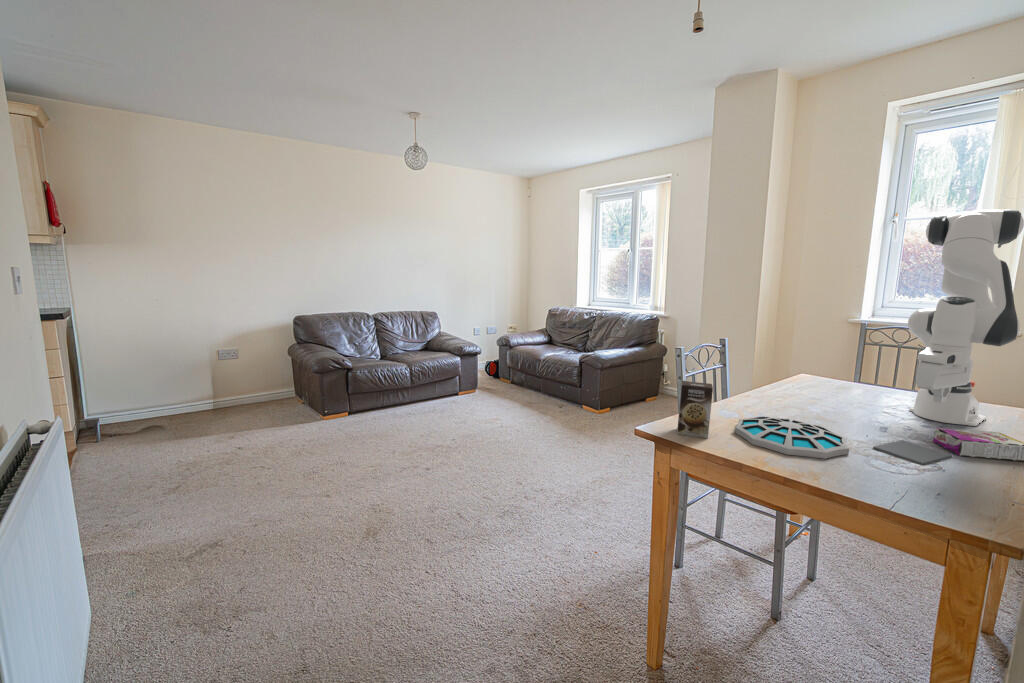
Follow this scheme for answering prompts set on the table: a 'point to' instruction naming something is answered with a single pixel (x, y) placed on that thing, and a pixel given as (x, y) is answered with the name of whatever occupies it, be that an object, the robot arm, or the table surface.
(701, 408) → the brown food box
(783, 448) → the decorative platform
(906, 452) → the mat
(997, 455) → the candy bar box
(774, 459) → the table surface
